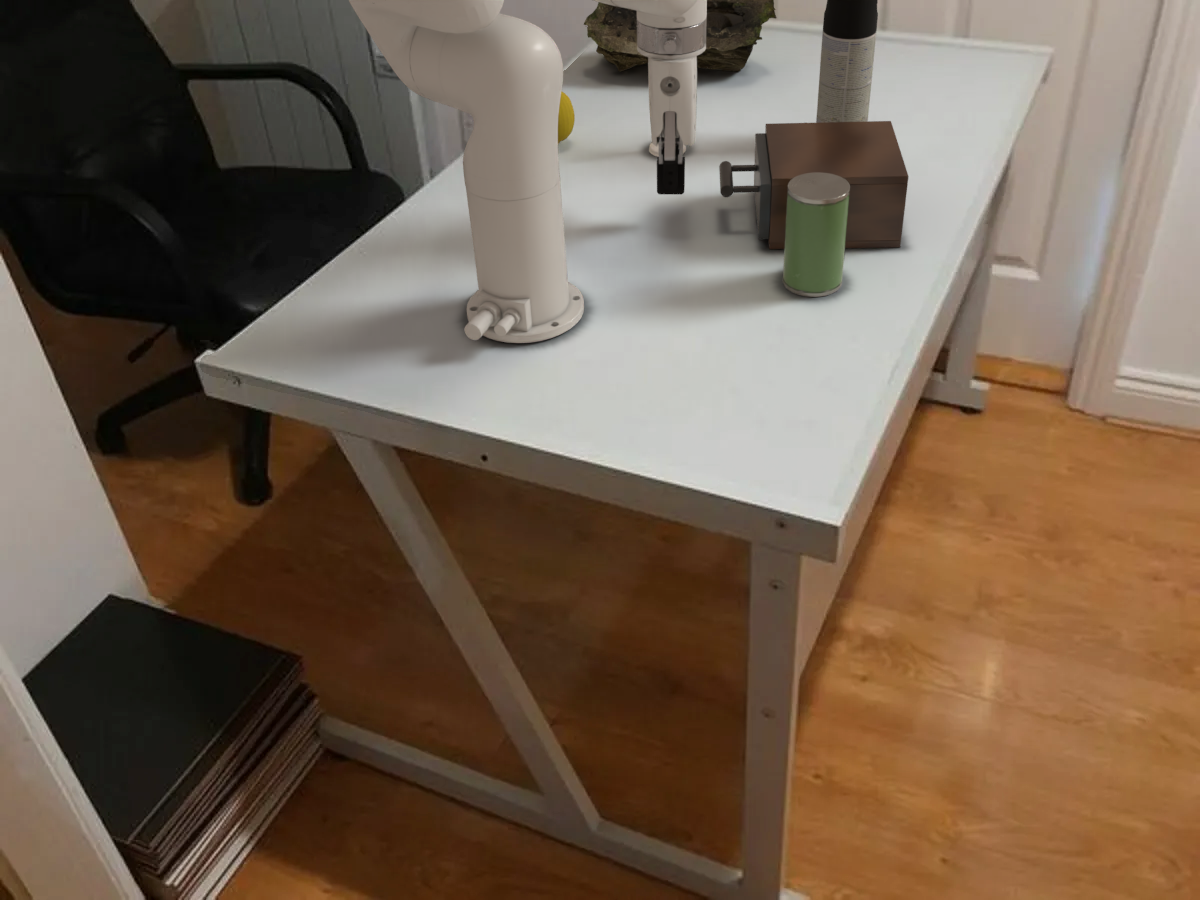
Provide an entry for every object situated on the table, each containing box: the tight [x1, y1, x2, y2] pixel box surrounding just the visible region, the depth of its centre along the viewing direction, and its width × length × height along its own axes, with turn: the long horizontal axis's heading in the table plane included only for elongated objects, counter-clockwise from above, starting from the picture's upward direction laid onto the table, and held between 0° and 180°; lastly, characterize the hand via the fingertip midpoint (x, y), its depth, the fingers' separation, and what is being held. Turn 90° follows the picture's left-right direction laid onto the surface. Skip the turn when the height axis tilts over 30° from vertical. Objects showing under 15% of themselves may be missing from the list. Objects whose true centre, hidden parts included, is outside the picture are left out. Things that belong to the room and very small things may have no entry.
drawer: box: [718, 132, 772, 240], centre depth 142 cm, size 18×14×7 cm
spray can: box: [815, 0, 879, 123], centre depth 155 cm, size 7×7×20 cm
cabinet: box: [764, 120, 909, 250], centre depth 142 cm, size 15×15×9 cm
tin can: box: [782, 172, 850, 298], centre depth 130 cm, size 6×6×12 cm
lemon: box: [558, 90, 576, 145], centre depth 162 cm, size 6×6×8 cm
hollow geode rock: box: [583, 0, 777, 72], centre depth 182 cm, size 28×13×15 cm
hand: (670, 191), depth 143 cm, fingers closed
